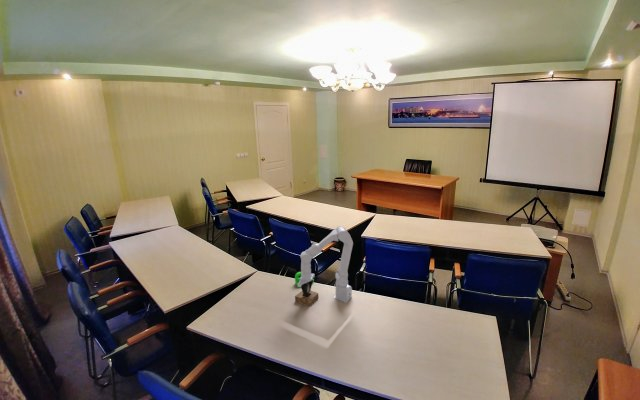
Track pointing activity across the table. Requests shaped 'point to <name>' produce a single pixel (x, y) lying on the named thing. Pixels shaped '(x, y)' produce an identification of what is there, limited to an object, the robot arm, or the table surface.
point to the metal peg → (307, 291)
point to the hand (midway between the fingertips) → (306, 292)
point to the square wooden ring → (306, 298)
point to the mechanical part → (298, 278)
